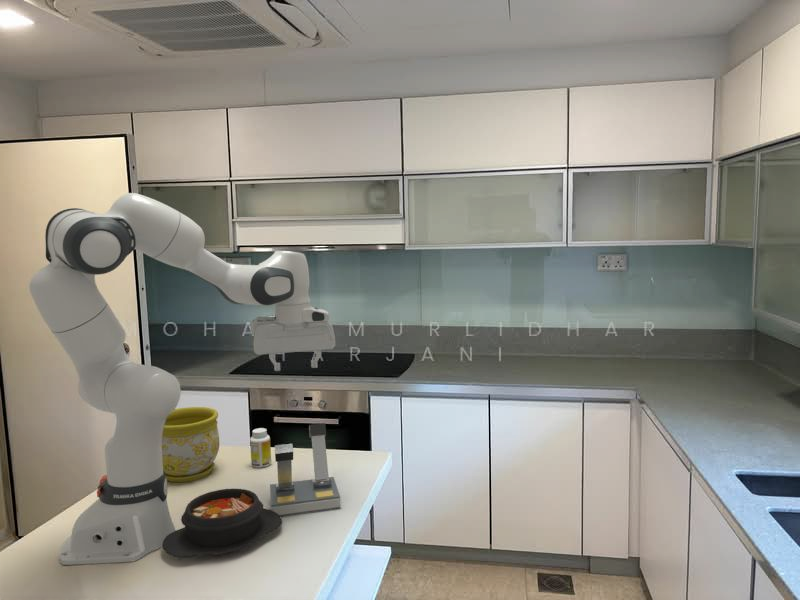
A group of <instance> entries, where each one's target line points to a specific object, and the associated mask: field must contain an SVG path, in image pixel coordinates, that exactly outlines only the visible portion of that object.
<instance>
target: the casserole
mask: <svg viewBox="0 0 800 600" xmlns="http://www.w3.org/2000/svg"><path fill="white" fill-rule="evenodd" d="M184 510H185V511H184V512H183V514H182V515H181V519H180V520H181V524H182V525H183V526H184V527H182V528H179V529H177V530H176V529H175V530H176V531H174V532H172V533H170V534H169V535H167V536H166V538H165V539H164V541H163V546H162V549H163V550H164V552H165V553H166V554H167V555H169V556H171V557H174V558H176V559H177V558H179V559H185V558H192V557H197V556H205V555H206V556H207V555H208V556H209V555H220V554H227V553H228V554H229V553H231V552H235V551H239V550H242V549H244V548H246V547H249V546H250V545H253V544H254V543H256V542H257V541H259V540H261V539H262V538H263V537H264V536H266V535H269V534H270V533H272V532H275V531H276V530H278V529H279V528H280V527H281V526H282V524H283V521H282V518H281V517H282V516H279V515H278V514H277V513H276V512H274V511H271V509H268V508H264V504H263V502H262V501H261V500H260V499H259V497H258V495H257V493H255V492H253V491H251V490H249V489H245V488H224V489H223V488H221V489H218V490H213V491H209V492H206V493H203V494H200V495H199V496H196V497H195V498H194V499H192V500H190V501H189V503H187V505H186V506H185V509H184Z"/></svg>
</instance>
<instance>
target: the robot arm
mask: <svg viewBox="0 0 800 600" xmlns="http://www.w3.org/2000/svg"><path fill="white" fill-rule="evenodd" d="M45 227H46V228H45V258H46V260H47V261H48V263H49V264H47V265H45V266H43V267H41V268H40V269H39V270H37V272H35V273H34V275H33V276H32V277H31V279H30V281H29V286H28V287H29V292H30V295H31V297H32V300H33V302H34V304H35V306H36V308H37V310H38V312H39V313H40V316H41V318H42V319H43V321H44V323H45V324H46V325H47V327H48V328H49V330H50V331H51V332H52V334H53V336H54V337H55V338H56V340H57V341H58V342H59V344H60V345H61V347H62V348H63V350H64V351H65V352H66V354H67V356H69V358H70V360H71V363H72V364H73V366H74V368H75V370H76V373H77V375H78V384H77V385H78V386H77V387H78V389H77V390H78V394H79V395H80V398H81V399H82V401H84V402H85V403H87V404H89V406H91V407H93V408H94V409H96V410H97V411H101V412H105V413H110V414H114V415H115V417H116V419H115V420H116V423H115V430H114V433H113V435H112V437H110V439H108V441H107V442H106V444H105V445H104V455H105V456H104V457H105V468H106V474H105V475H103V476H102V477H100V478H101V479H100V480H99V482H98V483H99V484H98V486H97V490H96V496H97V497H96V498H97V499H96V500H95V501H94V502H93V503H92V504H91V505H89V506H88V507H87V508H86V509H85V510H84V511H83V512H82V513H80V514H79V516H78V517H77V518H76V520H75V522H74V524H73V527H72V530H71V534H70V535H71V536H70V537H69V538H68V539H67V540H66V541H65V542H64V543H63V545H62V547H61V548H60V552H59V562H60V563H61V565H63V566H68V565H88V564H89V565H90V564H92V565H93V564H109V563H129V562H135V561H138V560H139V559H141V558H143V557H144V556H146V555H147V554H149V553H151V552H153V551H156V550H157V549H160V548H163V541H164V539H165V538H166V536H167V535H169V534H170V533H172V532H174V531H176V527H175V526H174V522H173V520H172V517H171V514H170V509H169V505H168V500H167V498H168V493H169V491H168V480H167V478H166V474H165V471H164V470H163V460H162V433H163V428H164V424H165V421H166V419H167V417H168V415H169V414H170V413H172V412H173V410H174V409H177V407H178V404H179V402H180V399H181V392H182V391H181V389H182V388H181V385H180V382H179V380H178V379H177V377H176V376H175V375H173V374H172V373H171V372H168V371H167V370H164V369H162V368H160V367H158V366H154V365H147V364H140V363H136V362H134V361H133V360H131V358H130V357H129V355H127V352H126V350H125V346H124V343H125V341H126V337H127V336H126V331H125V329H124V327H123V325H122V324H121V323H120V321H119V319H118V318H117V316H116V314H115V313H114V312H113V310H112V308H111V307H110V305H109V303H108V302H107V301H106V299H105V297H104V296H103V295H102V293H101V292H100V290H99V288H98V286H97V283H96V278H95V275H105V274H108V273H111V272H112V271H114V270H116V269H117V268H118V267H119V266H120V265H121V264H122V263H123V262H124V261H125V260H126V258H127V257H128V256H129V255H130V254H132V252H133V251H135V250H136V251H138V252H140V253H142V254H145V255H146V256H148V257H150V258H151V259H154V260H156V261H158V262H161V263H164V264H166V265H169V266H171V267H176V268H179V269H182V270H186V271H188V272H189V273H190V274H191V273H192V274H193V275H195V276H196V277H198V278H200V279H202V280H204V281H206V282H207V283H209V284H211V285H212V286H213V287H215V289H216V290H217V291H218V292H219V293H220V295H221V296H222V297H223V298H224V299H225V300H226V301H227V302H229V303H230V304H233V305H250V306H261V307H267V306H271V305H274V315H269V316H257V317H256V318H254V319H253V320H252V321H250V322H251V323H250V331H251V334H252V335H253V352H254V353H255V355H259V356H260V355H268V358H269V360H270V362H271V363H272V364H273V366H274V367H273V368H274V371H275V372H280V371H281V362H277V361H276V359H275V358H276V354H283V353H295V352H298V353H299V352H309V351H311V352H312V351H314V352H315V356H314V359H311V361H310V366H311V369H317V368H318V361H319V359H320V358H321V356H322V351H323V350H325V351H327V350H334V348H335V346H336V335H335V331H334V327H333V325H332V323H331V322H330V313H329V312H328V311H327V310H325V309H322V308H318V307H313V306H312V305H311V303H312V302H311V297H310V295H309V294H310V293H309V289H310V273H309V271H310V270H309V264H308V261H307V257H306V255H305V253H303V252H301V251H299V250H293V249H277V250H275V251H274V252H273V254H272V255H271V256H270V257H269V258H267V259H265V260H264V261H262V262H259V263H258V264H257V265H256V264H243V263H230V262H227V261H225V260H223V259H222V258H220V257H218V256H217V255H215V254H213V253H212V252H210V251H209V250H207V249H206V248H205V242H206V238H205V233H204V231H203V228H202V227H201V226H200V225H199V224H198V223H196V222H195V221H194V220H193V219H191V218H190V217H189V216H187V215H186V214H183V213H182V212H180V211H179V210H177V209H175V208H173V207H172V206H169V205H167V204H165V203H163V202H161V201H158V200H157V199H154V198H152V197H148V196H146V195H143V194H139V193H138V192H129V193H128V192H127V193H125V194H123V195H121V196H120V197H118V198H117V199H116V200H115V201H114V202H113V204H112V206H110V209H109V210H108V211H106V212H104V213H97V212H94V211H91V210H86V209H83V208H79V207H78V208H75V207H74V208H73V207H72V208H67V209H63V210H60V211H59V212H57V213H55V214H54V215H53V216H52V217H51V218H50V219H49V221H48V223H46V226H45Z"/></svg>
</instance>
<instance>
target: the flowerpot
mask: <svg viewBox="0 0 800 600" xmlns="http://www.w3.org/2000/svg"><path fill="white" fill-rule="evenodd" d="M218 417H219V412H218V410H216V409H214V408H212V407H211V408H210V407H204V406H190V407H181V408H180V407H179V408H175V409H174V410H173V412H172V413H170V414H169V415H168V417H167V419H166V421H165V424H164V428H163V433H162V460H163V470H164V471H165V474H166V478H167V482H172V483H185V482H186V483H187V482H192V481H196V480H199V479H202V478H204V477H206V476H208V475H209V474H210V473H211V471H212V470H213V469H214V468H215V463H214V461H215V460H216V458H217V456H218V453H219V450H220V434H219V428H218V423H219V422H218V420H217V419H218Z"/></svg>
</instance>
